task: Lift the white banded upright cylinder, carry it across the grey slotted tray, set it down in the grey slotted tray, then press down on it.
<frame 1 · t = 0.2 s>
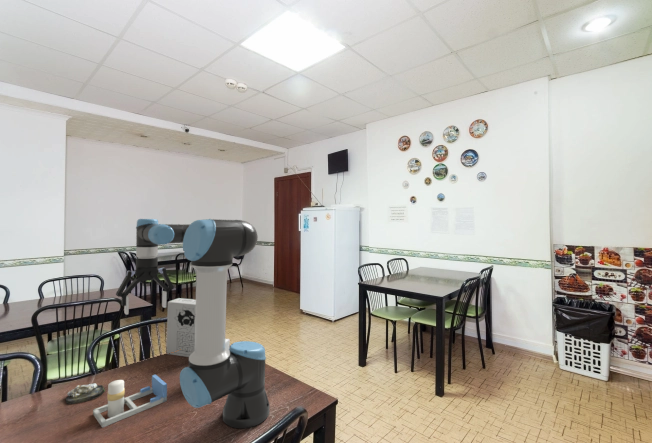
hand: (146, 310, 124), 28 cm above the table, fingers open, 13 cm apart
grey slotted tray: (131, 407, 106), on the table
cereal box: (191, 354, 148), on the table
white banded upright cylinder: (115, 413, 102), resting in grey slotted tray
grey lumpy oval piece: (86, 396, 112), on the table
supplement box: (213, 378, 126), on the table
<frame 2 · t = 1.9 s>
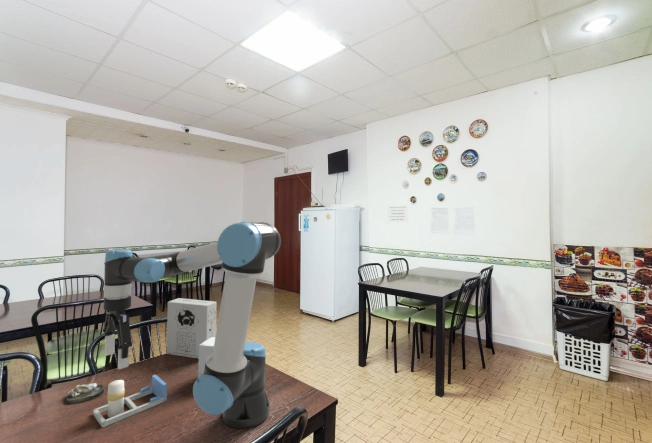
hand: (116, 360, 102), 17 cm above the table, fingers open, 13 cm apart
nothing on the table moved.
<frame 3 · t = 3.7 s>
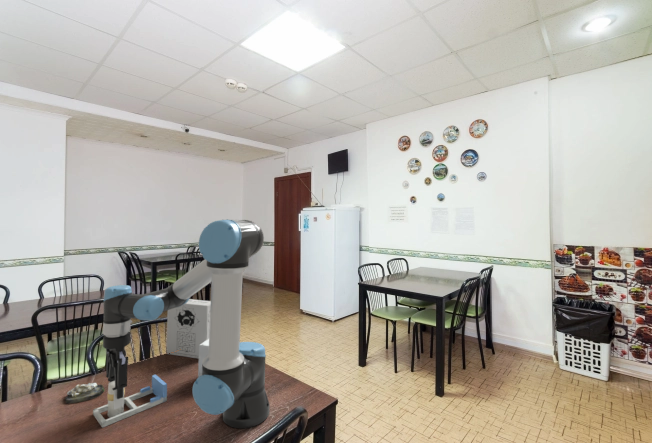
hand: (115, 403, 102), 3 cm above the table, fingers closed on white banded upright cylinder, 5 cm apart
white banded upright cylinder: (115, 413, 102), resting in grey slotted tray, touching gripper
everything else where it was.
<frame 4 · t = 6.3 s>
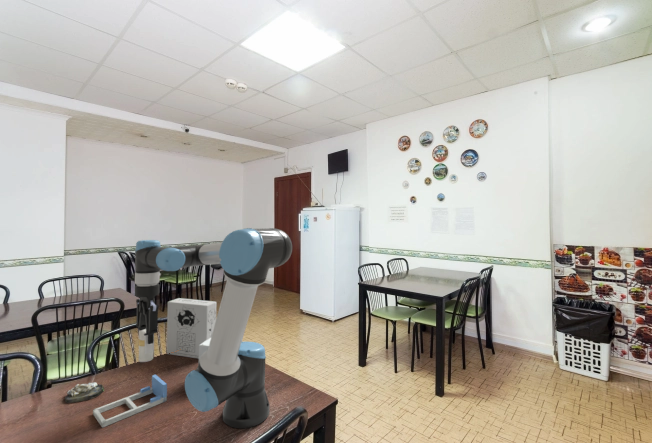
hand: (146, 350, 109), 18 cm above the table, fingers closed on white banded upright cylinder, 5 cm apart
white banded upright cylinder: (146, 359, 109), point 15 cm above the table, touching gripper
when the fingers open (4 cm above the table, at t = 9.0 s): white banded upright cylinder stays where it is, resting in grey slotted tray.
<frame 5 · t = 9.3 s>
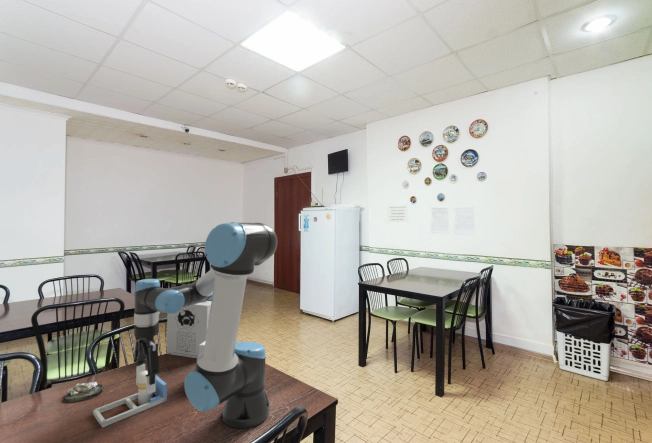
hand: (145, 387, 109), 5 cm above the table, fingers open, 8 cm apart
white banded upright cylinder: (145, 401, 109), resting in grey slotted tray
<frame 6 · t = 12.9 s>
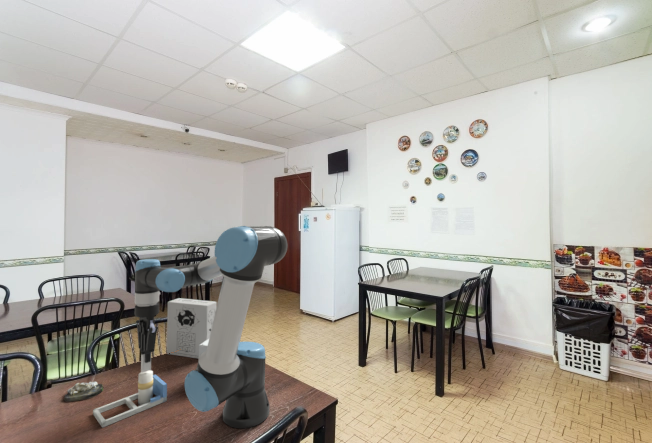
hand: (145, 370, 109), 11 cm above the table, fingers closed
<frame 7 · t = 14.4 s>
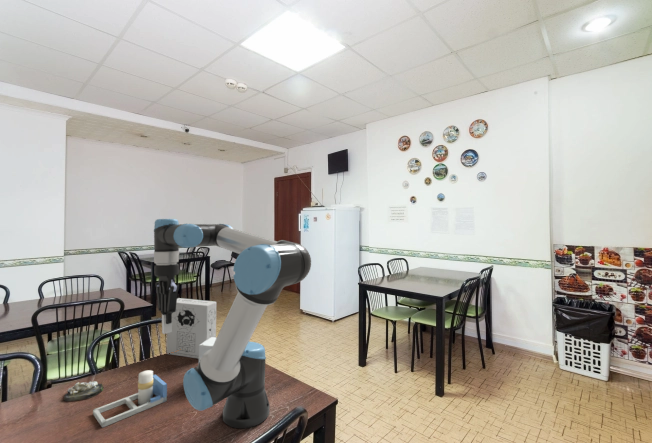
hand: (167, 332, 106), 26 cm above the table, fingers closed
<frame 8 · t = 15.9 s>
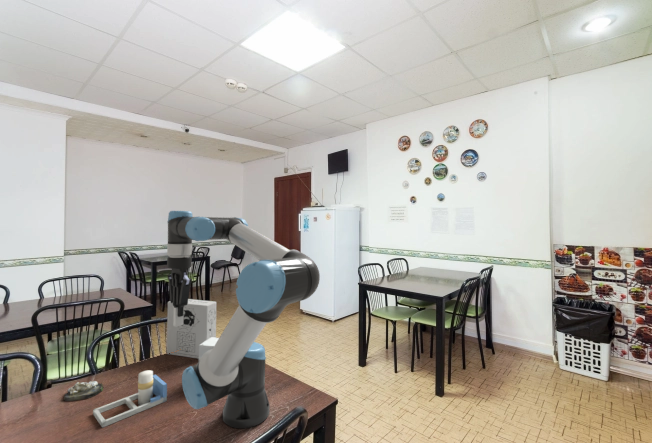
hand: (178, 325, 105), 28 cm above the table, fingers closed
at the end: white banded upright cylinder inside the target area (0.0 cm from its centre), resting in grey slotted tray; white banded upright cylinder tilted 0°; the gripper is holding nothing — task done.
